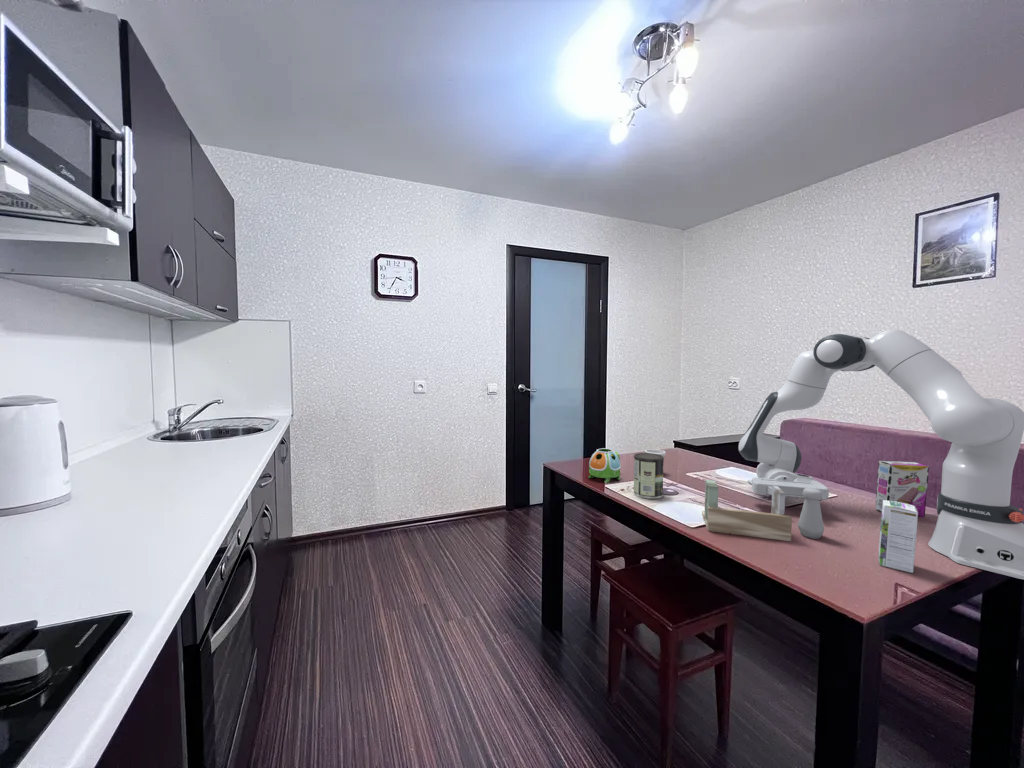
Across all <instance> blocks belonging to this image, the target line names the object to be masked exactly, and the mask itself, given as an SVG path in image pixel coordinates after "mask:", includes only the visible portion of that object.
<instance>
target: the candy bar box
mask: <svg viewBox="0 0 1024 768" xmlns="http://www.w3.org/2000/svg"><path fill="white" fill-rule="evenodd" d="M929 469H930V466H929V465H926V464H923V463H919V462H915V461H913V462H912V461H895V460H893V461H892V460H891V461H890V460H889V461H888V460H878V470H877V484H876V485H877V486H876V492H875V493H876V496H875V507H874V509H875V510H876V511H877V512H879V513H881V514H882V505H883V500H887V501H895V502H901V503H905V504H909V505H913V506H915V507H916V509H917V512H918V517H922V518H924V517H925V516H926V506H927V505H926V504H927V497H928V495H927V494H928V484H929V483H928V482H929V481H928V480H929Z"/></svg>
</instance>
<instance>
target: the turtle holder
mask: <svg viewBox="0 0 1024 768" xmlns="http://www.w3.org/2000/svg"><path fill="white" fill-rule="evenodd" d="M620 459H621V456H620V453H618V451H614V449H611V448H607V447H606V448H605V447H602V448H598V449H597V448H596V451H594V453H592V455H591V457H590V459H589V462H588V468H589V469H588V473H589V475H588V478H589V479H594V477H595V478H601V479H604V480H603V481H604V483H605V484H607V483H610V479H613V478H616V480H618V481H620V480H621V476H620V475H621V467H622V465H621V460H620Z"/></svg>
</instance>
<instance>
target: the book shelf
mask: <svg viewBox="0 0 1024 768" xmlns="http://www.w3.org/2000/svg"><path fill="white" fill-rule="evenodd" d="M704 485H705V486H704V487H705V488H704V510H702V511H701V516H703V517H702V518H703V522H704V521H705V522H704V524H705V526H706V529H707V531H708V532H715V533H722V534H729V533H731V534H730V535H739V536H747V537H752V538H753V537H754V538H763V539H770V540H779V541H786V542H792V525H793V517H792V516H791V515H789V514H788V515H787V514H785V510H786V509H785V508H786V504H785V503H786V498H785V492H783V491H782V490H781V489H780V488H779V487H778V486H772V495H771V507H770V508H771V509H770V510H771V511H770V512H771V513H770V512H761V511H751V510H744V509H735V508H724V507H719V486H718V483H716V481H715V479H714V480H713V479H705V484H704Z"/></svg>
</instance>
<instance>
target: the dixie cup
mask: <svg viewBox="0 0 1024 768" xmlns="http://www.w3.org/2000/svg"><path fill="white" fill-rule="evenodd" d="M644 453H653V454H658V455H662V456H663V457H664V458H665V455H666V451H665V450H662V449H658V448H656V449H655V448H649V449H647V448H646V449H645V450H644ZM664 462H665V461H664ZM664 462H663V464H664Z"/></svg>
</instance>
